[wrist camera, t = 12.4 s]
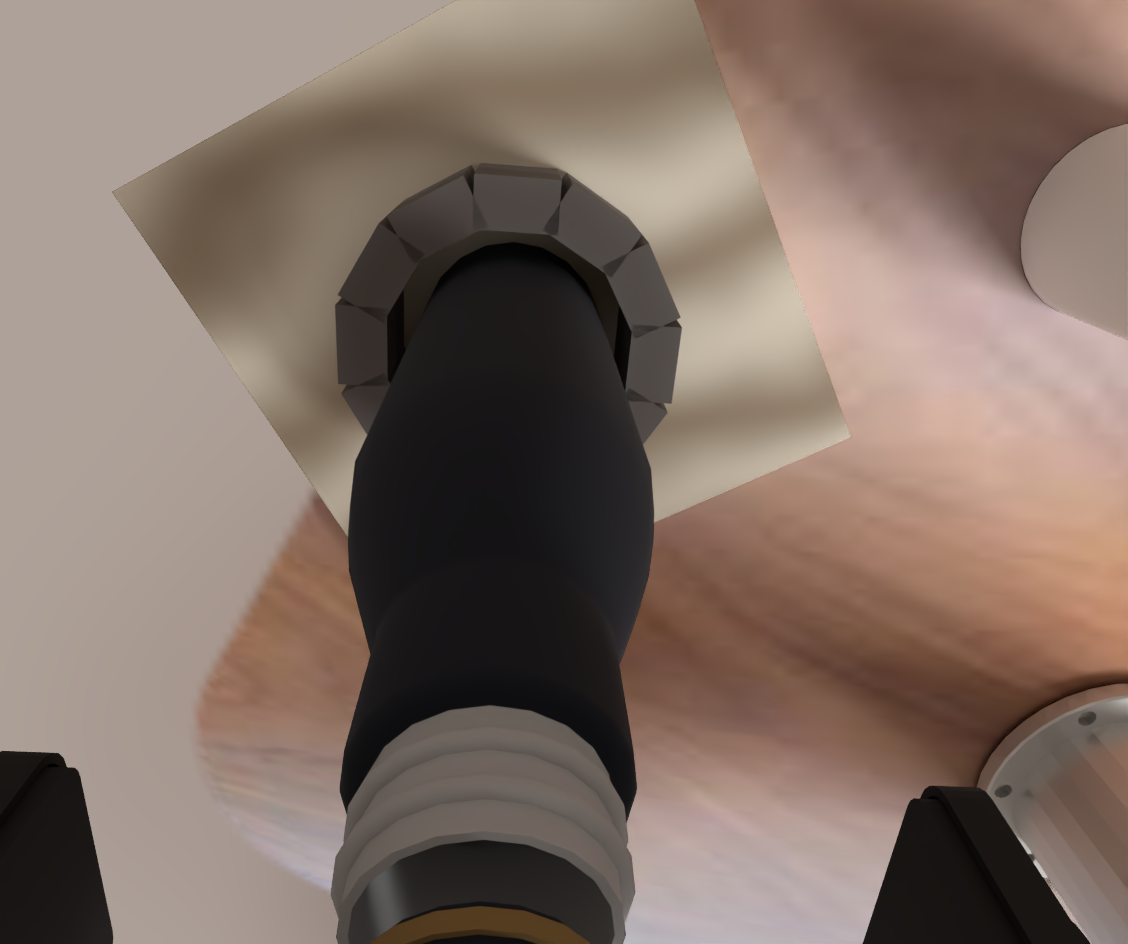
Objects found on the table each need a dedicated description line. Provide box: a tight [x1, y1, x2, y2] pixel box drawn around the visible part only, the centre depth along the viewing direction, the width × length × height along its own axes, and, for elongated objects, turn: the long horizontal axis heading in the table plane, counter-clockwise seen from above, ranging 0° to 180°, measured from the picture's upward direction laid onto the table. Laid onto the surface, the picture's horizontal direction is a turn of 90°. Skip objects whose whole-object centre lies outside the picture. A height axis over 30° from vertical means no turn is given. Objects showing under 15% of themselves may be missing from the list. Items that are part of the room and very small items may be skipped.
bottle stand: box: [113, 0, 851, 537], centre depth 29 cm, size 20×20×6 cm
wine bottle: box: [331, 242, 654, 944], centre depth 17 cm, size 6×6×30 cm
